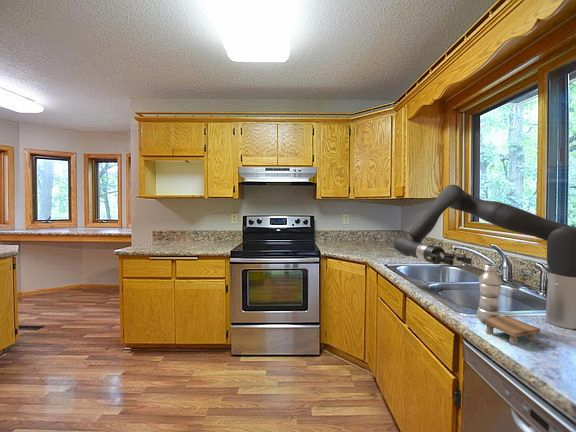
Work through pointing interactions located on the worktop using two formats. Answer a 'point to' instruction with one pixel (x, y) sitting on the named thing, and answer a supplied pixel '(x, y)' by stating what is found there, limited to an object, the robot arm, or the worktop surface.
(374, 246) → the worktop surface
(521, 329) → the pegged shelf
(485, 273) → the plastic bottle
